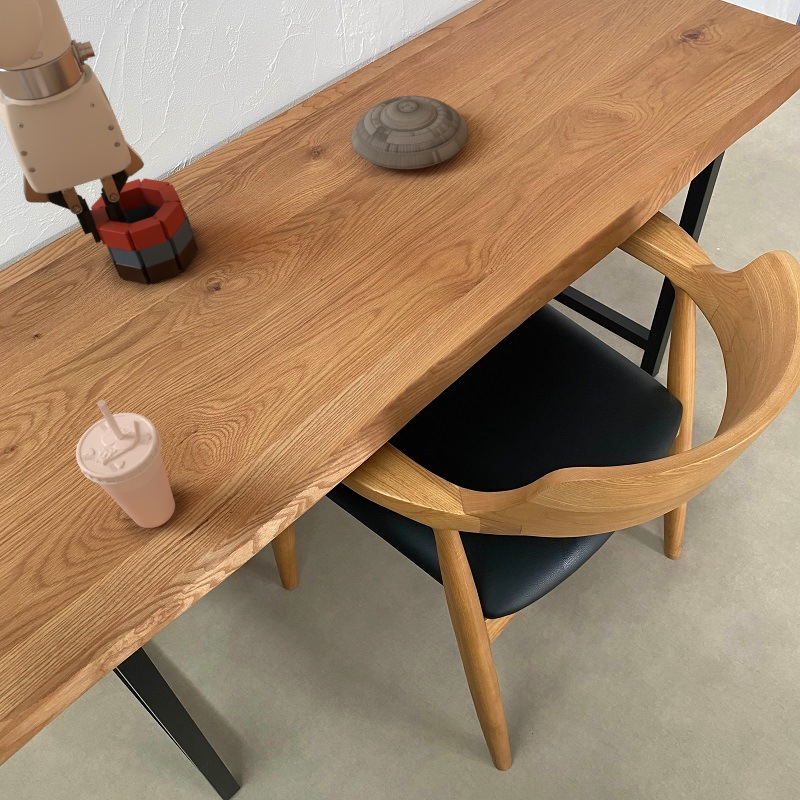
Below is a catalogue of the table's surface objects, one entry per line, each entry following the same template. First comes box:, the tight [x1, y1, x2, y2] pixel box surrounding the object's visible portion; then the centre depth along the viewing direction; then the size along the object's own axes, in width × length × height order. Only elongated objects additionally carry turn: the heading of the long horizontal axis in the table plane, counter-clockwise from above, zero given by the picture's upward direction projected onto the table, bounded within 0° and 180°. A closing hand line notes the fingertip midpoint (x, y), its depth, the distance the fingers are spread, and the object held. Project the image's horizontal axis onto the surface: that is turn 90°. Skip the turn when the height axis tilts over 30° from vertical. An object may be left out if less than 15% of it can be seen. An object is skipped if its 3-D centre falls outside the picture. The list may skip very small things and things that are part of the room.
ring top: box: [90, 178, 186, 251], centre depth 86 cm, size 9×9×2 cm
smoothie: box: [75, 399, 176, 529], centre depth 64 cm, size 6×6×14 cm
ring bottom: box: [107, 233, 199, 285], centre depth 90 cm, size 9×9×2 cm
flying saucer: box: [350, 95, 469, 170], centre depth 100 cm, size 15×15×6 cm
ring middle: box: [106, 205, 194, 268], centre depth 88 cm, size 9×9×2 cm
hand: (107, 230), depth 86 cm, fingers closed on ring top, 1 cm apart
